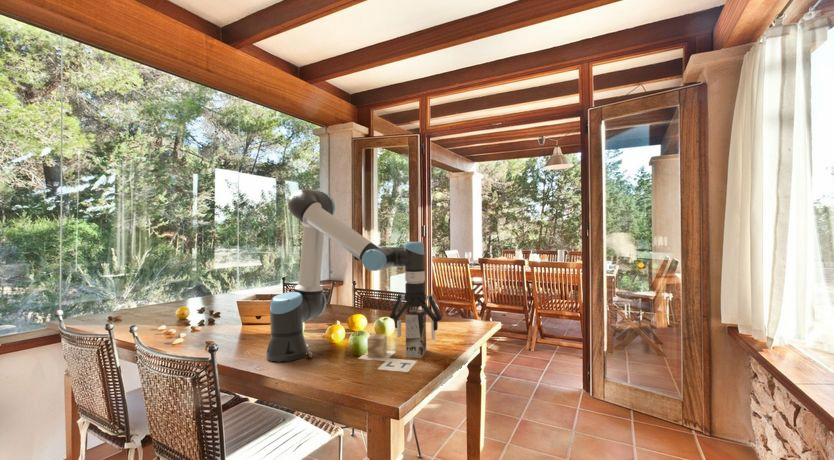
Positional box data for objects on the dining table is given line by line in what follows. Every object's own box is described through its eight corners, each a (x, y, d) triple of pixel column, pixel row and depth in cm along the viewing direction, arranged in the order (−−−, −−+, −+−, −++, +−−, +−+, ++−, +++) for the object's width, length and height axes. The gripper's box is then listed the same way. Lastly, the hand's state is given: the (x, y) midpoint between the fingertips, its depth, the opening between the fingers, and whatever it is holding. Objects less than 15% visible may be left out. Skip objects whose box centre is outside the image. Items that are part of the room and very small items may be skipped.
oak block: (367, 357, 138) (367, 338, 138) (371, 352, 144) (371, 334, 144) (383, 357, 137) (383, 338, 137) (386, 352, 143) (386, 334, 143)
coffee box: (422, 358, 136) (421, 314, 136) (405, 357, 138) (404, 314, 138) (427, 350, 145) (426, 309, 145) (411, 349, 147) (410, 309, 147)
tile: (377, 369, 126) (377, 368, 126) (388, 358, 137) (388, 358, 137) (407, 372, 123) (407, 371, 123) (417, 361, 134) (417, 360, 134)
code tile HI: (357, 359, 137) (357, 358, 137) (369, 349, 147) (369, 349, 147) (385, 361, 134) (385, 360, 134) (396, 351, 144) (395, 351, 144)
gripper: (381, 282, 141) (382, 338, 141) (445, 284, 134) (446, 342, 134) (388, 280, 149) (389, 333, 149) (449, 281, 142) (450, 336, 142)
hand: (416, 337), depth 142 cm, fingers open, 13 cm apart
